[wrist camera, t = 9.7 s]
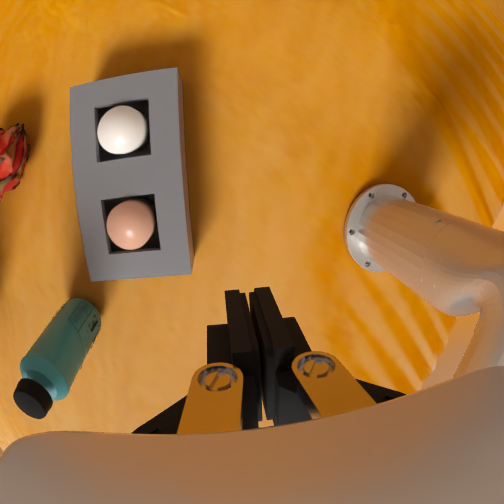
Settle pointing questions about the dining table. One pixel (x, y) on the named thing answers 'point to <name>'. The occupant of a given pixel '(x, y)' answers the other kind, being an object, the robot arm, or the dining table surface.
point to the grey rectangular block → (133, 175)
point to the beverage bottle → (56, 357)
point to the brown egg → (132, 223)
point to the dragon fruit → (12, 157)
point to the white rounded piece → (123, 130)
